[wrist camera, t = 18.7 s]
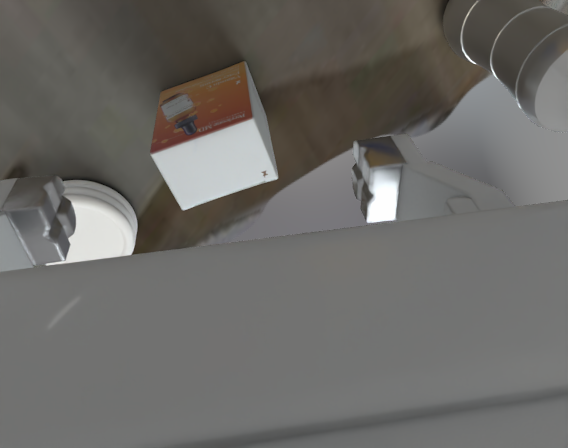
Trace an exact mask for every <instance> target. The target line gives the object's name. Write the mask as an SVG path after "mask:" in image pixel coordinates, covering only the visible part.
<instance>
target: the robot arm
mask: <svg viewBox="0 0 568 448" xmlns="http://www.w3.org/2000/svg"><path fill="white" fill-rule="evenodd" d="M353 156H354V159H355V161H356V164H355V165H354V166H353V168H352V183H353V189H354V194H355V196H356V199H357V200H359V201H361V211H362V213H363V215H364V217H365V220H366V222H367V223H371V222H381V221H391V220H396V221H397V222H390V223H382V224H373V225H366V226H358V227H350V228H342V229H334V230H327V231H319V232H311V233H302V234H295V235H287V236H279V237H271V238H263V239H255V240H248V241H239V242H231V243H223V244H215V245H207V246H199V247H191V248H183V249H176V250H168V251H160V252H152V253H144V254H136V255H128V256H120V257H112V258H104V259H96V260H88V261H80V262H72V263H64V264H56V265H48V266H41V267H33V266H35V265H41V264H48V263H54V262H61V261H65V260H66V257H67V254H68V251H69V248H70V245H71V244H70V242H69V240H68V238H69V237H71V236H72V235H73V234H74V232H75V228H76V215H75V211H74V207H73V205H72V202H71V201H70V200H69V199H67V198H66V197H64V196H63V194H64V191H65V186H64V183H63V181H62V179H61V177H59V176H58V175H48V176H37V177H27V178H20V179H19V178H15V179H7V180H1V181H0V448H568V200H564V201H556V202H548V203H540V204H532V205H524V206H515V205H514V204H513V202H512V201H511V200H510V199H509V197H508V196H507V195H506V194H505V193H504V191H503V190H500V189H498V188H495V187H493V186H491V185H488V184H486V183H483V182H481V181H479V180H476V179H474V178H471V177H469V176H466V175H464V174H462V173H459V172H457V171H454V170H452V169H449V168H447V167H445V166H442V165H440V164H437V163H435V162H433V161H430V162H427V161H426V160H425V158H424V157H423V155H422V154H421V153H420V151H419V150H418V148H417V147H416V145H415V144H414V142H413V141H412V139H411V138H410V137H409V135H408V134H400V135H394V136H386V137H379V138H372V139H365V140H358V141H354V145H353Z"/></svg>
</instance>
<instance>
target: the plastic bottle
mask: <svg viewBox="0 0 568 448" xmlns="http://www.w3.org/2000/svg"><path fill="white" fill-rule="evenodd" d="M443 31H444V36H445V38H446V40H447V42H448V44H449V46H450V47H451V49H452V50H453V51H454V53H455V54H456V55H458V56H459V57H461V58H463V59H464V60H466V61H468V62H471V63H474V64H476V65H479V66H481V67H482V68H484V69H485V70H487V71H488V72H490V73H492V74H493V75H494V76H495V77H496V78H497V79H498V80H499V81H500V82H501V83H502V84H503V85H504V87H505V88H506V89H508V91H509V92H510V94H511V95H512V97H513V98H514V100H515V101H516V102H517V104H518V105H519V107H520V108H521V110H522V111H523V112H524V113H525V115H526V116H527V117H528V118H529V119H530V120H531V122H533V123H534V124H536V125H537V126H539V127H542V128H545V129H548V130H551V131H554V132H568V15H566V14H564V13H562V12H559V11H557V10H555V9H552V8H550V7H547V6H546V5H544V4H543V3H542V2H540V1H539V0H449V2H448V4H447V6H446V9H445V12H444V17H443Z"/></svg>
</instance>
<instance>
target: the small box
mask: <svg viewBox="0 0 568 448" xmlns="http://www.w3.org/2000/svg"><path fill="white" fill-rule="evenodd" d="M150 155H151V157H152V158H153V160H154V162H155V164H156V165H157V167H158V169H159V171H160V172H161V174H162V176H163V178H164V179H165V181H166V183H167V185H168V186H169V188H170V190H171V192H172V193H173V195H174V197H175V198H176V200H177V202H178V204H179V205H180V207H181V209H182V210H187V209H189V208H192V207H194V206H197V205H199V204H202V203H205V202H208V201H211V200H214V199H216V198H219V197H222V196H225V195H228V194H231V193H234V192H237V191H240V190H243V189H246V188H249V187H252V186H255V185H258V184H262V183H265V182H269V181H273V180H276V179H278V172H277V167H276V162H275V157H274V153H273V148H272V143H271V138H270V133H269V128H268V123H267V117H266V114H265V111H264V109H263V106H262V103H261V101H260V98H259V95H258V93H257V90H256V88H255V85H254V82H253V79H252V77H251V74H250V71H249V69H248V66H247V64H246V62H245V61H243V62H240V63H238V64H235V65H233V66H231V67H228V68H226V69H223V70H220V71H218V72H215V73H212V74H209V75H206V76H204V77H201V78H198V79H195V80H192V81H189V82H187V83H184V84H181V85H178V86H176V87H173V88H170V89H167V90H164V91H162V92H161V93H160V98H159V104H158V110H157V115H156V121H155V127H154V133H153V139H152V144H151V150H150Z"/></svg>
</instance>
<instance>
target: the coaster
mask: <svg viewBox="0 0 568 448" xmlns="http://www.w3.org/2000/svg"><path fill="white" fill-rule="evenodd" d="M63 183H64V186H65V191H64V194H63V196H64V197H66V198H67V199H69V200H70V201H71V202H72V205H73V207H74V211H75V215H76V228H75V232H74V234H73V235H72V236H71V237H69V238H68V240H69V242H70V244H71V245H70V248H69V251H68V254H67V257H66V260H65V261H61V262H54V263H48V264H45V265H47V266H48V265H56V264H64V263H72V262H80V261H88V260H96V259H104V258H112V257H120V256H128V255H131V254H132V252H133V250H134V246H135V239H136V233H137V226H138V225H137V218H136V215H135V212H134V210H133V208H132V207H131V205H130V204H129V202H128V201H127V200H126V199H125V198H124V197H123V196H122V195H120V194H119V193H118V192H116V191H115V190H113V189H111V188H109V187H107V186H105V185H102V184H99V183H96V182H91V181H85V180H69V181H63Z"/></svg>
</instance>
